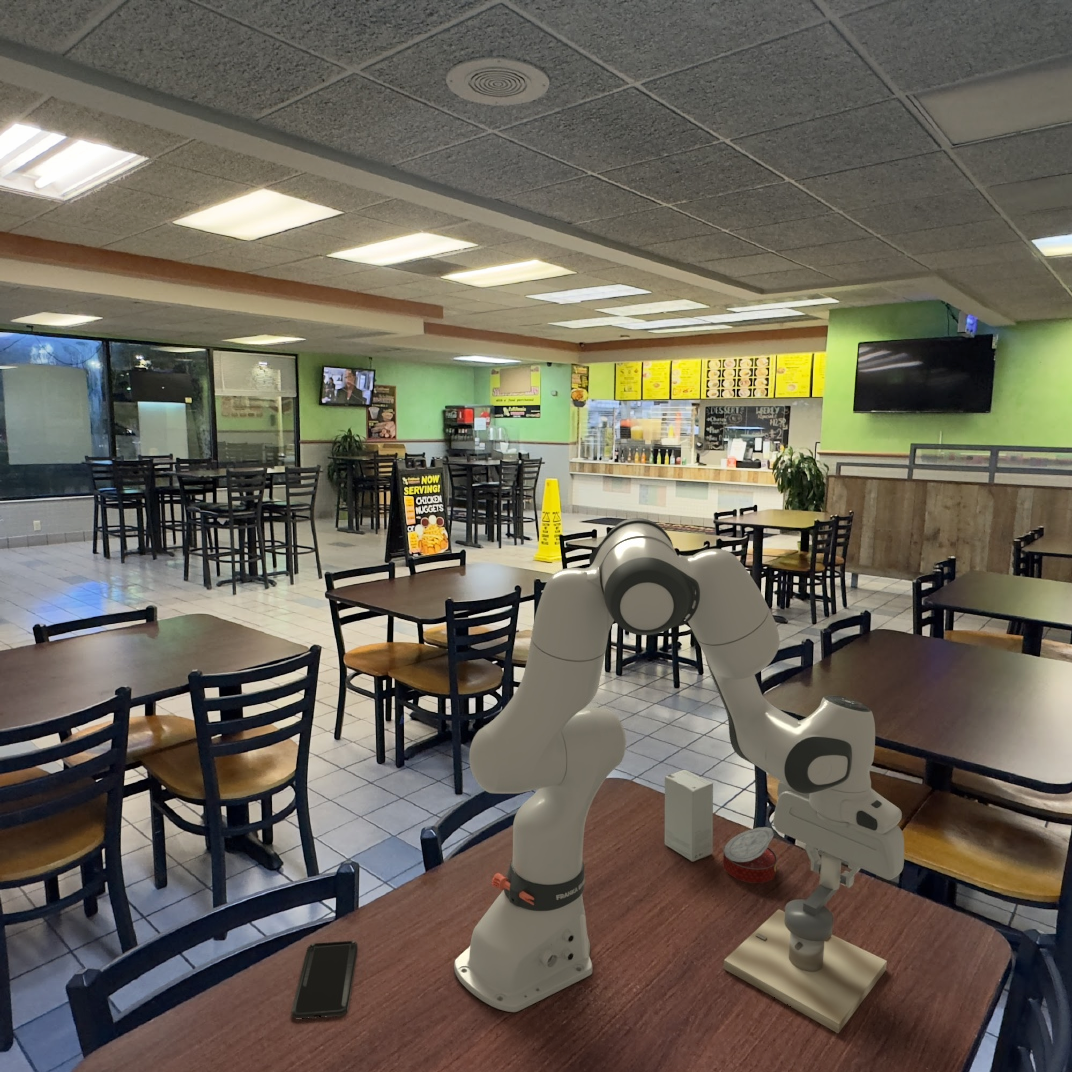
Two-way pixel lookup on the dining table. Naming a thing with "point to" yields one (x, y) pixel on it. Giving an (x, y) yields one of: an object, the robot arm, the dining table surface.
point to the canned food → (751, 856)
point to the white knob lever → (815, 904)
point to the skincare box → (689, 815)
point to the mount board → (807, 971)
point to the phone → (325, 980)
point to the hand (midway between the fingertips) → (831, 877)
